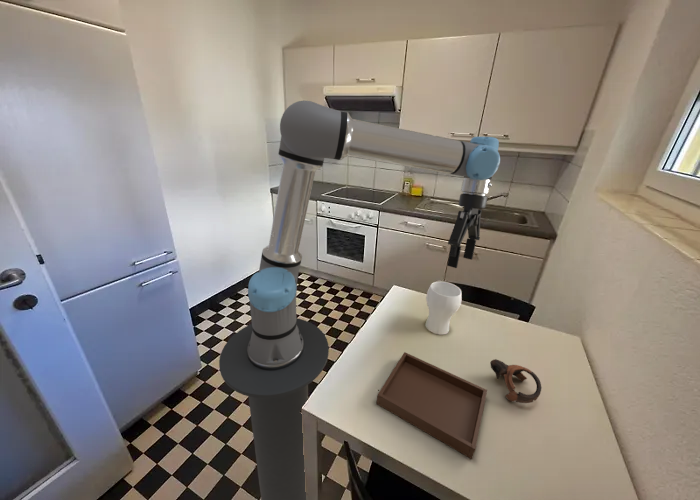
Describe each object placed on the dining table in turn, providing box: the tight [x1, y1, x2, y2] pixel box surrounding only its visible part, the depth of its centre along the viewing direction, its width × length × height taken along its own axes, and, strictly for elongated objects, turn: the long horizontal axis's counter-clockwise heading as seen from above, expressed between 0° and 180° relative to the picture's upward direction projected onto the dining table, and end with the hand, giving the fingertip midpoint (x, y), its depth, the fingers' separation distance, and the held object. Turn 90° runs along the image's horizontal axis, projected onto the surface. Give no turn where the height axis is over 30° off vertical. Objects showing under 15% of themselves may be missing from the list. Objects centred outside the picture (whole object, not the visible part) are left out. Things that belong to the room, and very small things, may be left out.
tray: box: [375, 351, 488, 460], centre depth 67 cm, size 22×17×3 cm
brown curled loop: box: [490, 358, 542, 404], centre depth 71 cm, size 12×10×8 cm
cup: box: [424, 280, 463, 335], centre depth 91 cm, size 11×11×15 cm
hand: (460, 262), depth 87 cm, fingers open, 13 cm apart
